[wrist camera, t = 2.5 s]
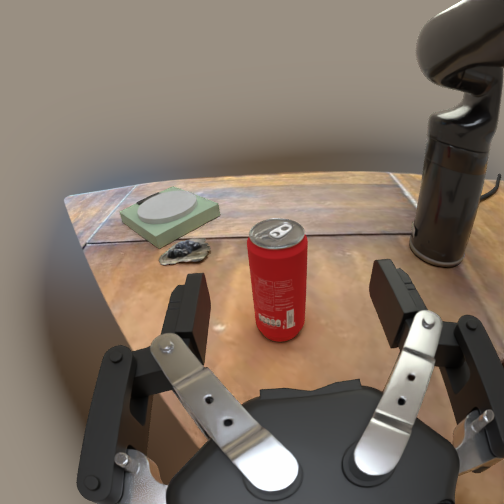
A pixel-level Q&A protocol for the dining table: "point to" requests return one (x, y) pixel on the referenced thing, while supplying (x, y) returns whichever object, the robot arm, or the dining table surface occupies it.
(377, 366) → the dining table surface
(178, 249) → the geode
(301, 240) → the beverage can
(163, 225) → the scale
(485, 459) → the robot arm
